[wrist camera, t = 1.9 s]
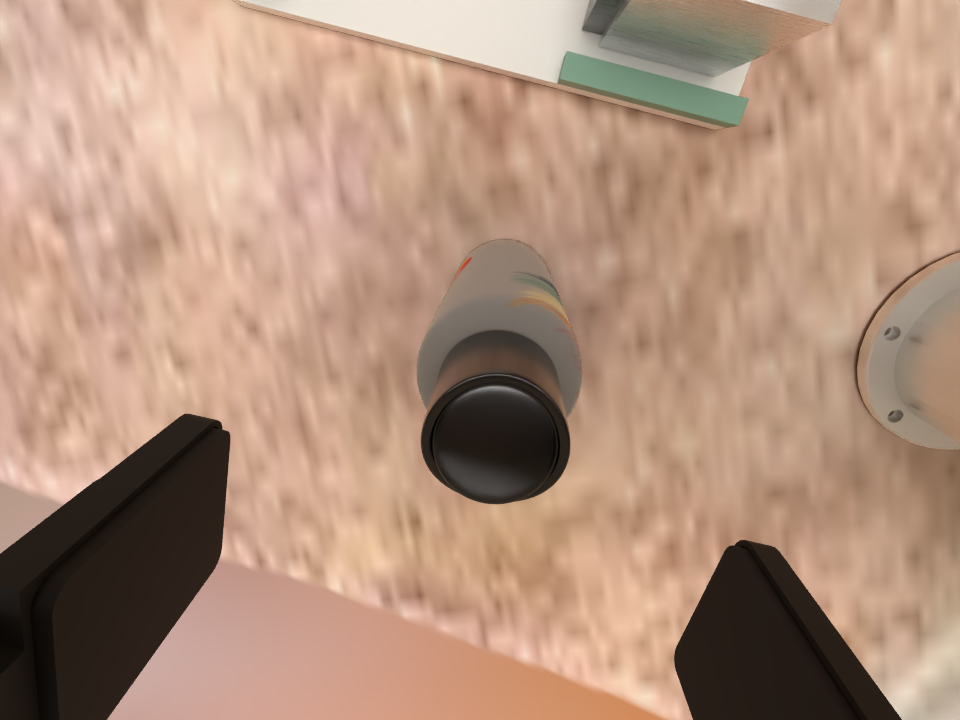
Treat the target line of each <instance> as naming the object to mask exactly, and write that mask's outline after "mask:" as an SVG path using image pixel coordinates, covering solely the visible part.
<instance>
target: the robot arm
mask: <svg viewBox="0 0 960 720" xmlns="http://www.w3.org/2000/svg"><path fill="white" fill-rule="evenodd" d="M857 375H858V386H859V390H860V393H861V396H862V399H863V402H864V403H865V405H866V407H867V408H868V410H869V412H870V413H871V415H872V416H873V417H874V418H875V419H876V420H877V421H878V422H879V423H880V424H881V425H882V426H883V427H885V428H886V429H888V430H889V431H891V432H892V433H894V434H895V435H897V436H898V437H900V438H902V439H904V440H906V441H908V442H910V443H913V444H915V445H919V446H923V447H927V448H931V449H942V450H959V449H960V252H959V253H955V254H952V255H950V256H948V257H946V258H944V259H942V260H940V261H937V262H935V263H933V264H931V265H929V266H928V267H926V268H925V269H923V270H922V271H920V272H919V273H917V274H916V275H914V276H913V277H911V278H910V279H909V280H908V281H907V282H905V283H904V284H903V285H902V286H901V287H900V288H899V289H898V290H897V291H895V292H894V293H893V294H892V295H891V297H890V298H889V299H888V300H887V301H886V303H885V304H884V305H883V306H882V307H881V309H880V310H879V311H878V312H877V314H876V316H875V318H874V319H873V321H872V323H871V324H870V326H869V328H868V330H867V332H866V334H865V337H864V340H863V343H862V345H861V348H860V352H859V359H858V365H857ZM229 450H230V433H229V432H228V431H225V430H222V424H221V422H220V421H218V420H214V419H209V418H205V417H201V416H196V415H192V414H184V415H182V416H180V417H179V418H178V419H177V420H175V421H174V422H173V423H171V424H170V425H169V426H167V427H166V428H165V429H164V430H162V431H161V432H160V433H158V434H157V435H156V436H155V437H153V438H152V439H151V440H149V441H148V442H147V443H145V444H144V445H143V446H142V447H140V448H139V449H138V450H136V451H135V452H134V453H133V454H131V455H130V456H129V457H127V458H126V459H125V460H123V461H122V462H121V463H120V464H118V465H117V466H116V467H114V468H113V469H112V470H110V471H109V472H108V473H107V474H105V475H104V476H103V477H101V478H100V479H98V480H96V481H95V482H93V483H92V484H91V485H89V486H88V487H87V488H85V489H84V490H83V491H81V492H80V493H79V494H77V495H76V496H75V497H74V498H72V499H71V500H70V501H68V502H67V503H66V504H64V505H63V506H62V507H61V508H59V509H58V510H57V511H55V512H54V513H53V514H51V515H50V516H49V517H48V518H46V519H45V520H44V521H42V522H41V523H40V524H38V525H37V526H36V527H35V528H33V529H32V530H31V531H29V532H28V533H27V534H26V535H24V536H23V537H21V538H20V539H19V540H18V541H16V542H15V543H14V544H12V545H11V546H10V547H8V548H7V549H6V550H5V551H3V552H2V553H1V554H0V720H107V718H108V717H109V716H110V714H111V713H112V711H113V710H114V709H115V707H116V706H117V705H118V703H119V702H120V700H121V699H122V697H123V696H124V695H125V693H126V692H127V691H128V689H129V688H130V686H131V685H132V684H133V682H134V681H135V679H136V678H137V677H138V675H139V674H140V672H141V671H142V670H143V668H144V667H145V666H146V664H147V663H148V661H149V660H150V659H151V657H152V656H153V654H154V653H155V651H156V650H157V649H158V647H159V646H160V644H161V643H162V642H163V640H164V639H165V637H166V636H167V635H168V633H169V632H170V631H171V629H172V628H173V626H174V625H175V624H176V622H177V621H178V619H179V618H180V617H181V615H182V614H183V612H184V611H185V610H186V608H187V607H188V605H189V604H190V603H191V601H192V600H193V599H194V597H195V596H196V594H197V593H198V592H199V590H200V589H201V587H202V586H203V585H204V583H205V582H206V580H207V579H208V577H209V576H210V575H211V573H212V572H213V570H214V569H215V567H216V565H217V563H218V560H219V558H220V555H221V550H222V539H223V527H224V514H225V501H226V488H227V475H228V463H229ZM674 662H675V668H676V672H677V675H678V678H679V681H680V683H681V686H682V689H683V692H684V695H685V698H686V701H687V703H688V706H689V709H690V712H691V715H692V718H693V720H902V719H901V718H900V716H899V715H898V714H897V712H896V711H895V710H894V708H893V707H892V705H891V704H890V703H889V701H888V700H887V699H886V697H885V696H884V694H883V693H882V692H881V690H880V689H879V688H878V686H877V685H876V683H875V682H874V681H873V679H872V678H871V677H870V675H869V674H868V673H867V671H866V670H865V668H864V667H863V666H862V664H861V663H860V662H859V660H858V659H857V657H856V656H855V655H854V653H853V652H852V651H851V649H850V648H849V646H848V645H847V644H846V642H845V641H844V640H843V638H842V637H841V635H840V634H839V633H838V631H837V630H836V629H835V627H834V626H833V624H832V623H831V622H830V620H829V619H828V618H827V616H826V615H825V613H824V612H823V611H822V609H821V608H820V607H819V605H818V604H817V602H816V601H815V600H814V598H813V597H812V596H811V594H810V593H809V592H808V590H807V589H806V587H805V586H804V585H803V583H802V582H801V581H800V579H799V578H798V576H797V575H796V574H795V572H794V571H793V570H792V568H791V567H790V565H789V564H788V563H787V561H786V560H785V559H784V557H783V556H782V554H781V553H780V552H779V551H778V550H777V549H776V548H775V547H772V546H769V545H764V544H760V543H755V542H751V541H747V540H740V541H739V542H737V543H736V544H735V546H729V547H728V548H727V549H726V550H725V552H724V554H723V556H722V558H721V560H720V562H719V564H718V566H717V568H716V570H715V571H714V573H713V575H712V577H711V579H710V581H709V583H708V585H707V587H706V589H705V591H704V593H703V595H702V597H701V599H700V601H699V603H698V605H697V607H696V609H695V611H694V613H693V615H692V617H691V619H690V621H689V623H688V625H687V627H686V629H685V631H684V633H683V635H682V637H681V639H680V641H679V643H678V645H677V647H676V650H675V655H674Z"/></svg>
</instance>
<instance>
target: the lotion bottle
mask: <svg viewBox="0 0 960 720" xmlns="http://www.w3.org/2000/svg"><path fill="white" fill-rule="evenodd" d="M417 381H418V387H419V392H420V395H421V398H422V400H423V402H424V405H425V407H426V408H427V413H426V416H425V419H424V423H423V427H422V433H421V449H422V454H423V457H424V460H425V462H426V464H427V466H428V468H429V469H430V471H431V472H432V474H433V475H434V476H435V477H436V478H437V479H438V480H439V481H440V482H441V483H443V484H444V485H445V486H447V487H448V488H450V489H452V490H454V491H456V492H458V493H460V494H462V495H463V496H465V497H467V498H469V499H472V500H474V501H477V502H481V503H487V504H505V503H510V502H516V501H522V500H526V499H529V498H532V497H535V496H537V495H539V494H541V493H543V492H545V491H546V490H548V489H549V488H550V487H552V486H553V485H554V484H555V483H556V482H557V481H558V479H559V478H560V477H561V475H562V474H563V472H564V470H565V468H566V465H567V463H568V459H569V455H570V433H569V427H568V422H567V417H568V415H569V414H570V413H571V411H572V409H573V407H574V405H575V403H576V401H577V398H578V395H579V392H580V388H581V381H582V362H581V356H580V352H579V348H578V345H577V342H576V339H575V336H574V333H573V331H572V328H571V326H570V323H569V320H568V318H567V315H566V313H565V310H564V308H563V305H562V303H561V300H560V297H559V295H558V292H557V290H556V287H555V285H554V282H553V280H552V277H551V275H550V272H549V270H548V268H547V266H546V264H545V262H544V261H543V259H542V258H541V257H540V256H539V254H538V253H537V252H535V251H534V250H533V249H532V248H530V247H529V246H527V245H525V244H523V243H521V242H518V241H514V240H509V239H499V240H493V241H490V242H487V243H484V244H482V245H481V246H479V247H477V248H476V249H475V250H473V251H472V252H471V253H470V254H469V255H468V256H467V257H466V259H465V260H464V261H463V263H462V265H461V266H460V268H459V270H458V272H457V274H456V276H455V278H454V280H453V281H452V283H451V285H450V287H449V289H448V291H447V293H446V295H445V297H444V299H443V301H442V303H441V305H440V307H439V309H438V311H437V313H436V315H435V316H434V318H433V320H432V322H431V324H430V326H429V328H428V331H427V333H426V335H425V337H424V340H423V342H422V345H421V348H420V351H419V355H418V360H417Z"/></svg>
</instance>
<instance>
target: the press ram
mask: <svg viewBox="0 0 960 720" xmlns="http://www.w3.org/2000/svg"><path fill="white" fill-rule="evenodd" d="M841 1H842V0H589V4H588V8H587V12H586V15H585V19H584V23H583V27H582V30H584V31H587V32H591V33H595V34H599V35H601V38H600V42H599V45H598V47H601V48H605V49H609V50H613V51H617V52H620V53H624V54H628V55H632V56H635V57H639V58H643V59H647V60H651V61H654V62H658V63H662V64H666V65H669V66H673V67H677V68H681V69H684V70H688V71H692V72H696V73H700V74H703V75H707V76H711V77H717V76H719V75H721V74H723V73H725V72H728V71H730V70H732V69H734V68H736V67H739V66H741V65H743V64H745V63H747V62H750V61H752V60H754V59H756V58H759V57H761V56H763V55H765V54H767V53H770V52H772V51H774V50H776V49H778V48H781V47H783V46H785V45H787V44H789V43H792V42H794V41H796V40H798V39H800V38H803V37H805V36H807V35H809V34H811V33H814V32H816V31H818V30H820V29H822V28H825V27H827V26H829V25H831V24H832V23H833V20H834V18H835V15H836V13H837V11H838V8H839V6H840V3H841Z"/></svg>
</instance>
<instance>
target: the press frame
mask: <svg viewBox="0 0 960 720" xmlns="http://www.w3.org/2000/svg"><path fill="white" fill-rule="evenodd" d="M232 1H234V2H236V3H237V4H239V5H241V6H243V7H247V8H251V9H255V10H259V11H263V12H266V13H270V14H274V15H278V16H282V17H285V18H289V19H293V20H297V21H301V22H305V23H308V24H312V25H316V26H320V27H324V28H327V29H331V30H335V31H339V32H343V33H347V34H350V35H354V36H358V37H362V38H366V39H370V40H373V41H377V42H381V43H385V44H389V45H392V46H396V47H400V48H404V49H408V50H412V51H415V52H419V53H423V54H427V55H431V56H434V57H438V58H442V59H446V60H450V61H454V62H457V63H461V64H465V65H469V66H473V67H476V68H480V69H484V70H488V71H492V72H496V73H499V74H503V75H507V76H511V77H515V78H518V79H522V80H526V81H530V82H534V83H538V84H541V85H545V86H549V87H553V88H557V89H561V90H564V91H568V92H572V93H576V94H580V95H583V96H587V97H591V98H595V99H599V100H603V101H606V102H610V103H614V104H618V105H622V106H625V107H629V108H633V109H637V110H641V111H645V112H648V113H652V114H656V115H660V116H664V117H667V118H671V119H675V120H679V121H683V122H687V123H690V124H694V125H698V126H702V127H706V128H710V129H713V130H719V129H724V128H729V127H734V126H739V124H740V121H741V118H742V116H743V113H744V110H745V108H746V105H747V103H748V100H749V99H748V98H744V97H740V96H739V93H740V91H741V88H742V85H743V83H744V80H745V77H746V75H747V72H748V69H749V67H750V64H751V61H750V62H747V63H745V64H743V65H741V66H739V67H736V68H734V69H732V70H730V71H728V72H725V73H723V74H721V75H719V76H717V77H711V76H707V75H703V74H700V73H696V72H692V71H688V70H684V69H681V68H677V67H673V66H669V65H666V64H662V63H658V62H654V61H651V60H647V59H643V58H639V57H635V56H632V55H628V54H624V53H620V52H617V51H613V50H609V49H605V48H601V47H598V45H599V42H600V38H601V35H599V34H595V33H591V32H587V31H584V30H582V27H583V23H584V19H585V15H586V12H587V8H588V4H589V0H232Z"/></svg>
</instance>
